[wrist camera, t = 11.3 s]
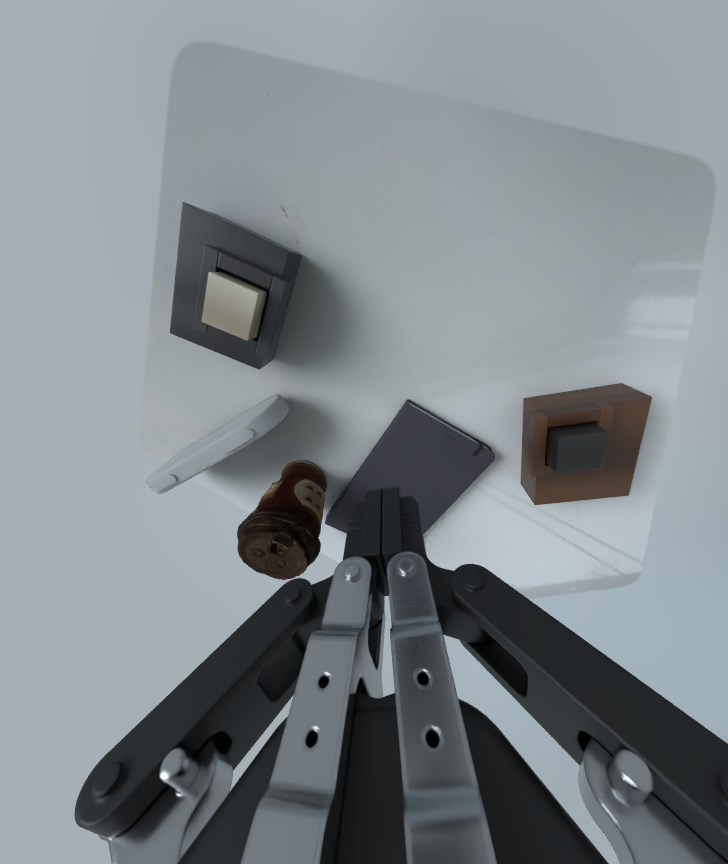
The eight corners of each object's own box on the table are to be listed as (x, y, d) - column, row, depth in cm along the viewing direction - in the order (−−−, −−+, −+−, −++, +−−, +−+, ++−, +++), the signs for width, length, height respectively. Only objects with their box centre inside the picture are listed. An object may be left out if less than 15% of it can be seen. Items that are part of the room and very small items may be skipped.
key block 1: (209, 211, 28) (167, 196, 22) (311, 258, 29) (294, 254, 24) (194, 326, 33) (156, 336, 27) (281, 363, 34) (262, 379, 29)
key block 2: (512, 396, 34) (535, 418, 28) (622, 379, 32) (669, 399, 27) (510, 484, 39) (529, 517, 34) (604, 473, 38) (640, 506, 32)
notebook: (407, 398, 35) (326, 515, 44) (408, 403, 33) (324, 523, 42) (494, 449, 37) (400, 550, 46) (498, 455, 36) (400, 558, 45)
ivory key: (221, 271, 25) (208, 271, 23) (267, 292, 25) (258, 293, 24) (213, 318, 27) (200, 321, 25) (257, 337, 27) (247, 341, 25)
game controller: (187, 466, 41) (144, 507, 34) (175, 453, 41) (128, 493, 33) (299, 401, 36) (276, 433, 28) (288, 385, 35) (261, 414, 28)
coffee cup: (323, 445, 38) (295, 518, 27) (345, 495, 42) (330, 578, 30) (263, 462, 40) (214, 536, 29) (289, 508, 44) (255, 591, 32)
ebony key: (548, 427, 29) (559, 437, 27) (593, 421, 29) (607, 431, 27) (545, 462, 31) (555, 473, 29) (588, 456, 30) (600, 468, 29)
